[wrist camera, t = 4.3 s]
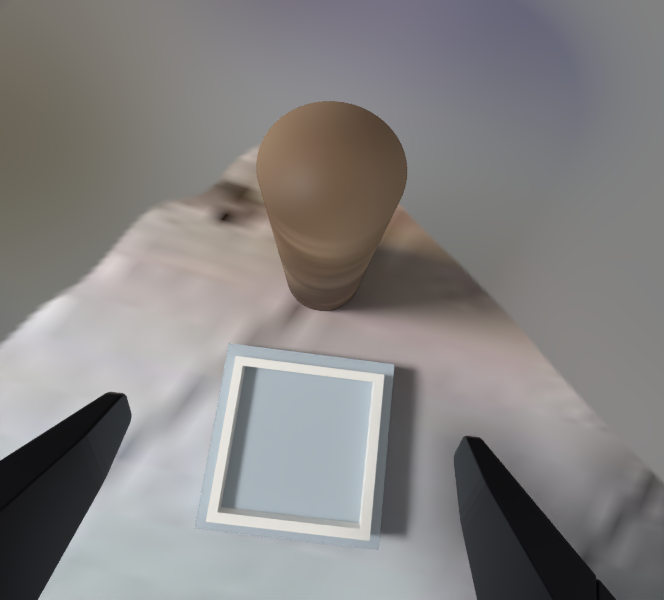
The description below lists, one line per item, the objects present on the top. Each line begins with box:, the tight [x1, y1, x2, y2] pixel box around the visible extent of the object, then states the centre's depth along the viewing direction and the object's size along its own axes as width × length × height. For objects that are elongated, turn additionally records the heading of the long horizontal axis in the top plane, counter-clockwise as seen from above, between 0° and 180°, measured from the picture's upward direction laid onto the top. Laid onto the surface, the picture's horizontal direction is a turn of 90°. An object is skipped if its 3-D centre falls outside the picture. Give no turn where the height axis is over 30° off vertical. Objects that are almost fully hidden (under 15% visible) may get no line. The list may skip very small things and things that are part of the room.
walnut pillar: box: [257, 101, 407, 311], centre depth 18 cm, size 5×5×13 cm
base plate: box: [195, 343, 394, 550], centre depth 21 cm, size 10×10×3 cm
